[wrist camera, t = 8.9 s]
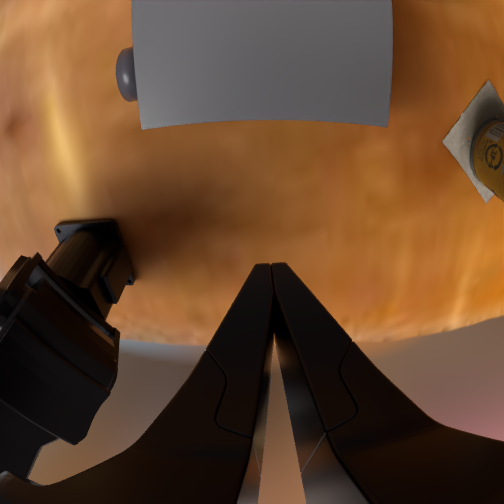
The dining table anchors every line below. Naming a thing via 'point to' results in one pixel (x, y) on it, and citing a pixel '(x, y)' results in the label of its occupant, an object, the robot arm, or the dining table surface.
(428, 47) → the dining table surface
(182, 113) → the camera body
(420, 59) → the dining table surface
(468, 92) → the dining table surface
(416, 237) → the dining table surface
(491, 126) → the condiment
